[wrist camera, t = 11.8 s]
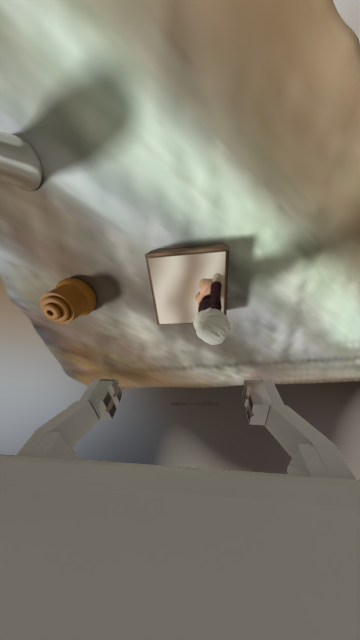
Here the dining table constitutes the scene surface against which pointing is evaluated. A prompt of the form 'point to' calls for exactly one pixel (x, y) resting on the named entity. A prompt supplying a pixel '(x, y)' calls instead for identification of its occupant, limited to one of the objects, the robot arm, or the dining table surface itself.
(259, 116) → the dining table surface
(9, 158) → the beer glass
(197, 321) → the grandmother figurine
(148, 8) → the dining table surface
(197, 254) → the plinth
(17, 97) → the dining table surface
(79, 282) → the ornamental finial
